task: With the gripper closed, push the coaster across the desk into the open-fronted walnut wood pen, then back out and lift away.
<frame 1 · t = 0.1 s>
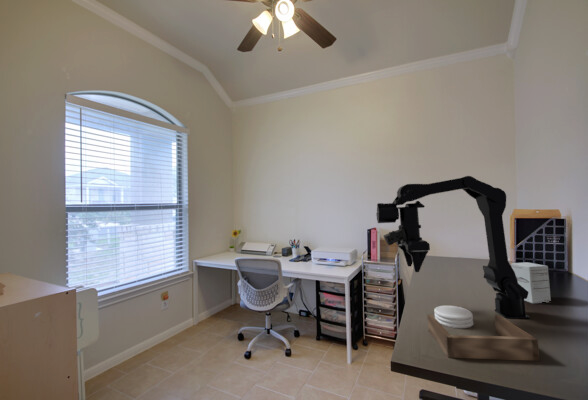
hand: (413, 269, 90), 14 cm above the table, tool pointing down, fingers open, 9 cm apart
coaster: (453, 323, 81), on the table
supplement box: (532, 300, 96), on the table
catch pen: (475, 342, 68), on the table
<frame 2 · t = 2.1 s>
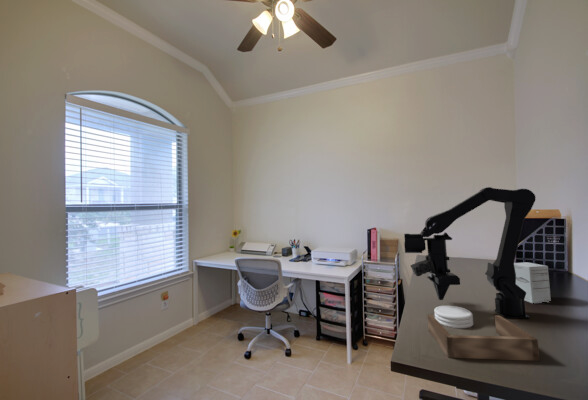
hand: (440, 299, 91), 3 cm above the table, tool pointing down, fingers closed
nothing on the table moved.
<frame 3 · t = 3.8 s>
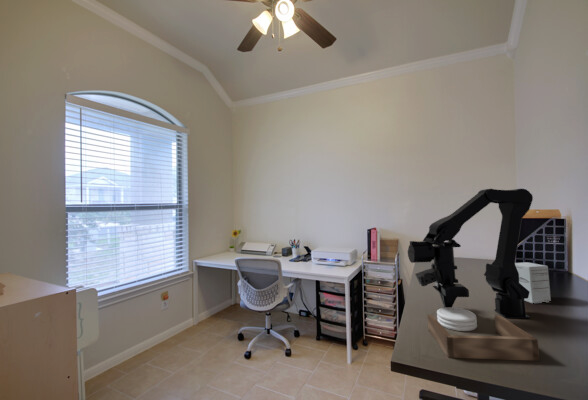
hand: (447, 311, 85), 2 cm above the table, tool pointing down, fingers closed
coaster: (456, 325, 79), on the table, touching gripper
everything else where it was.
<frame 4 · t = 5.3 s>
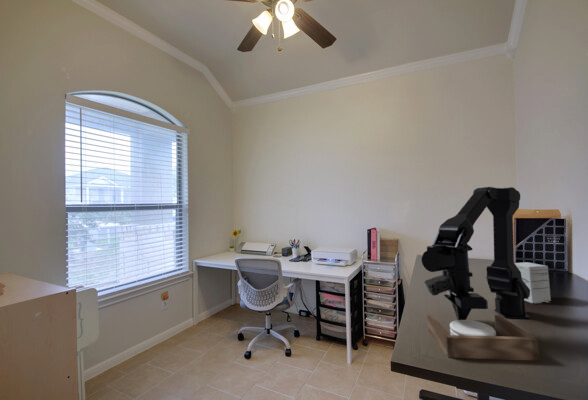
hand: (461, 323, 76), 2 cm above the table, tool pointing down, fingers closed
coaster: (472, 341, 70), on the table, touching gripper
everything else where it was.
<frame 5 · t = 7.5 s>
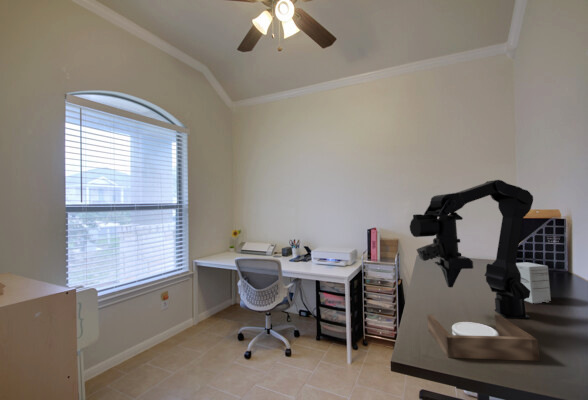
hand: (450, 287, 82), 10 cm above the table, tool pointing down, fingers closed
coaster: (475, 343, 68), on the table
everything else where it was.
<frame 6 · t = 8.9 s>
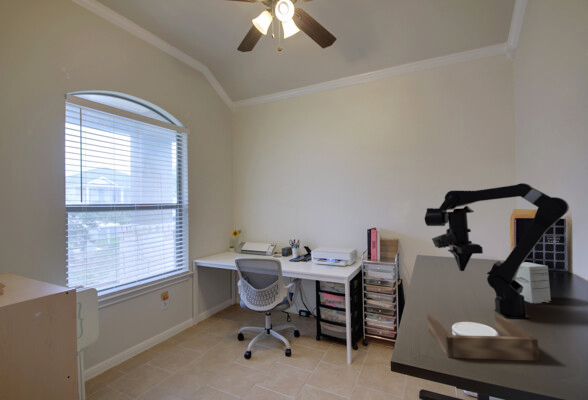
hand: (461, 270, 94), 12 cm above the table, tool pointing down, fingers closed
nothing on the table moved.
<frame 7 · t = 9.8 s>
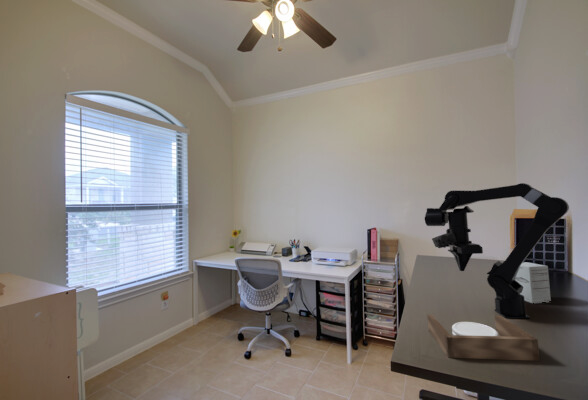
hand: (461, 270, 94), 12 cm above the table, tool pointing down, fingers closed
nothing on the table moved.
at the end: coaster inside the target area (0.9 cm from its centre), on the table; coaster tilted 0°; coaster moved 13.1 cm from its start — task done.
